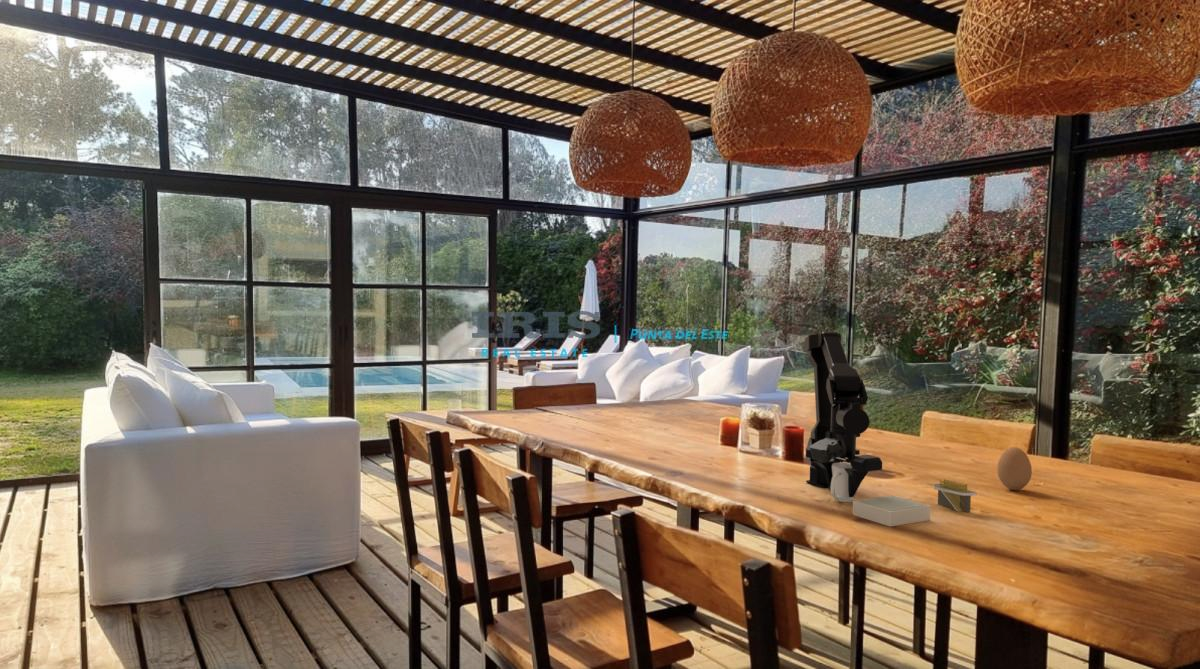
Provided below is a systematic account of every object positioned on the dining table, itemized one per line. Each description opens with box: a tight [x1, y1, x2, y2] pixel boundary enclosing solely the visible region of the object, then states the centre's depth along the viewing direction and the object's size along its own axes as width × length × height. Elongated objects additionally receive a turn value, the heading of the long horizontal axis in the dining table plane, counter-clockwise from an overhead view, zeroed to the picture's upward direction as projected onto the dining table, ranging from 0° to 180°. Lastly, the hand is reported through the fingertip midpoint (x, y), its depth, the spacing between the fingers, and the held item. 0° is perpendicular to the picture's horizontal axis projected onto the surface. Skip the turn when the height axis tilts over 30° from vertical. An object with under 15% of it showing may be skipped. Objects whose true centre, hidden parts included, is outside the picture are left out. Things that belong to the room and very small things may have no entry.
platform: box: [933, 478, 978, 514], centre depth 167 cm, size 12×18×7 cm, turn 30°
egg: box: [996, 446, 1033, 491], centre depth 187 cm, size 8×8×11 cm
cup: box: [830, 462, 856, 503], centre depth 172 cm, size 7×10×8 cm
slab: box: [852, 495, 931, 527], centre depth 159 cm, size 12×10×3 cm
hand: (841, 494), depth 172 cm, fingers closed on cup, 6 cm apart
